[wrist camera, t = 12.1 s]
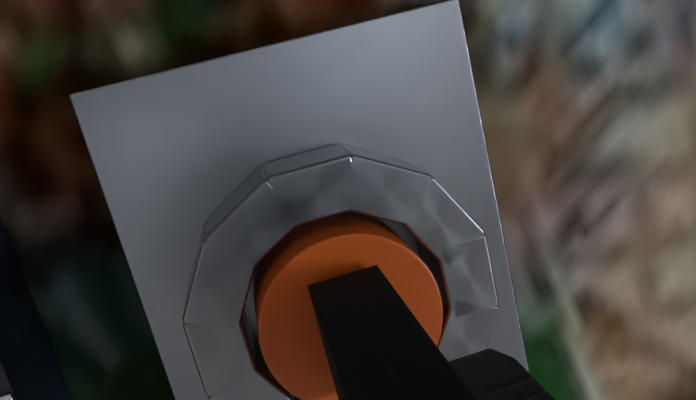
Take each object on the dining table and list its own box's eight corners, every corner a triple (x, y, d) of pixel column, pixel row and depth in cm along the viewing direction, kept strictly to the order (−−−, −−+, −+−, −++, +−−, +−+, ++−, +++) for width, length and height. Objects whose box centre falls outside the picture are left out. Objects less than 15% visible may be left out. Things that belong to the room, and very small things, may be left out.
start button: (233, 238, 15) (235, 265, 13) (397, 191, 16) (422, 210, 14) (278, 388, 16) (286, 435, 14) (431, 340, 17) (459, 378, 15)
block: (87, 89, 16) (45, 100, 12) (430, 3, 17) (489, -12, 13) (225, 491, 19) (225, 600, 15) (509, 396, 20) (575, 476, 16)
